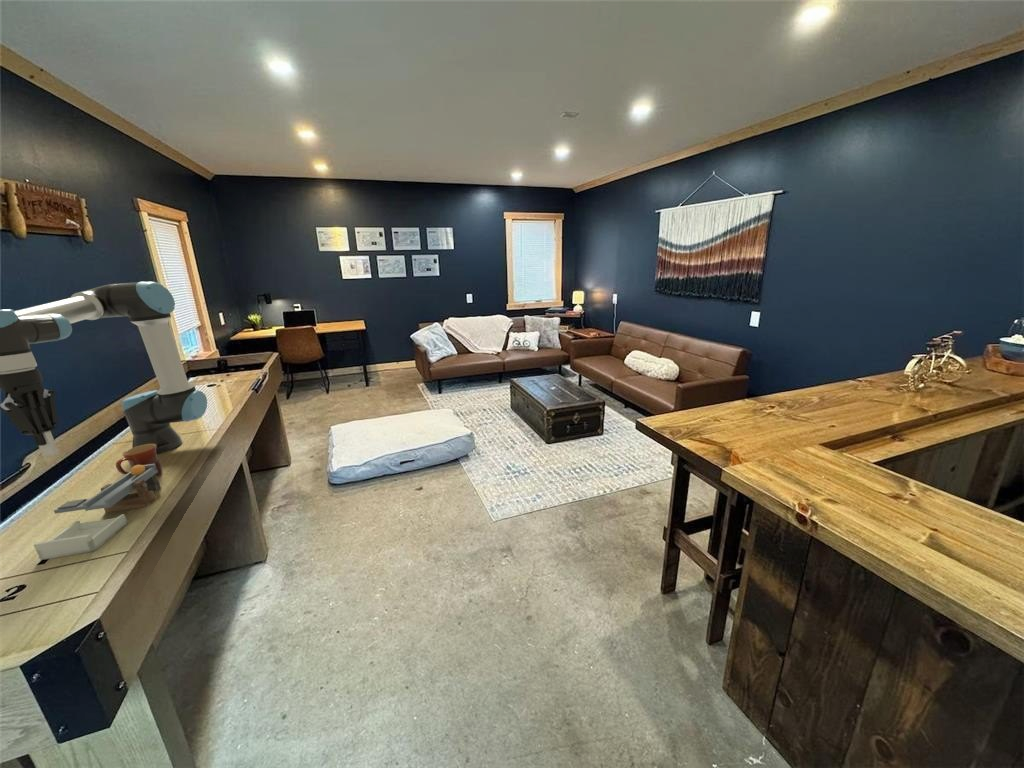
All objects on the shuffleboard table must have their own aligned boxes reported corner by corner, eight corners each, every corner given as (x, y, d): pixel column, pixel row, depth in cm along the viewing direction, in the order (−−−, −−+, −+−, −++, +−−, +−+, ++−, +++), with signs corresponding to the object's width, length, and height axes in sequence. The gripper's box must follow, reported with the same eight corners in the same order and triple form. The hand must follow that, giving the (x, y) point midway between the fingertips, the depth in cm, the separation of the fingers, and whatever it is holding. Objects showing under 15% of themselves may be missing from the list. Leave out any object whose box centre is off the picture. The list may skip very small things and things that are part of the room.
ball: (137, 473, 126) (134, 463, 125) (149, 471, 127) (146, 462, 126) (130, 478, 123) (126, 468, 122) (142, 476, 123) (138, 467, 122)
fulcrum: (132, 491, 128) (124, 471, 126) (171, 486, 130) (164, 465, 128) (104, 512, 117) (95, 490, 115) (148, 506, 119) (139, 484, 117)
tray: (80, 530, 109) (73, 516, 108) (127, 523, 111) (122, 509, 110) (41, 559, 98) (33, 544, 97) (94, 551, 100) (87, 536, 99)
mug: (152, 469, 143) (143, 443, 140) (172, 469, 141) (162, 443, 138) (115, 487, 132) (103, 459, 129) (135, 488, 130) (124, 460, 127)
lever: (108, 478, 126) (105, 470, 125) (158, 471, 128) (154, 463, 127) (51, 515, 107) (47, 506, 106) (110, 507, 110) (106, 497, 109)
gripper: (24, 367, 108) (57, 446, 114) (-30, 378, 95) (10, 467, 101) (56, 364, 109) (87, 443, 115) (6, 375, 96) (44, 463, 102)
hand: (51, 454), depth 108 cm, fingers closed
